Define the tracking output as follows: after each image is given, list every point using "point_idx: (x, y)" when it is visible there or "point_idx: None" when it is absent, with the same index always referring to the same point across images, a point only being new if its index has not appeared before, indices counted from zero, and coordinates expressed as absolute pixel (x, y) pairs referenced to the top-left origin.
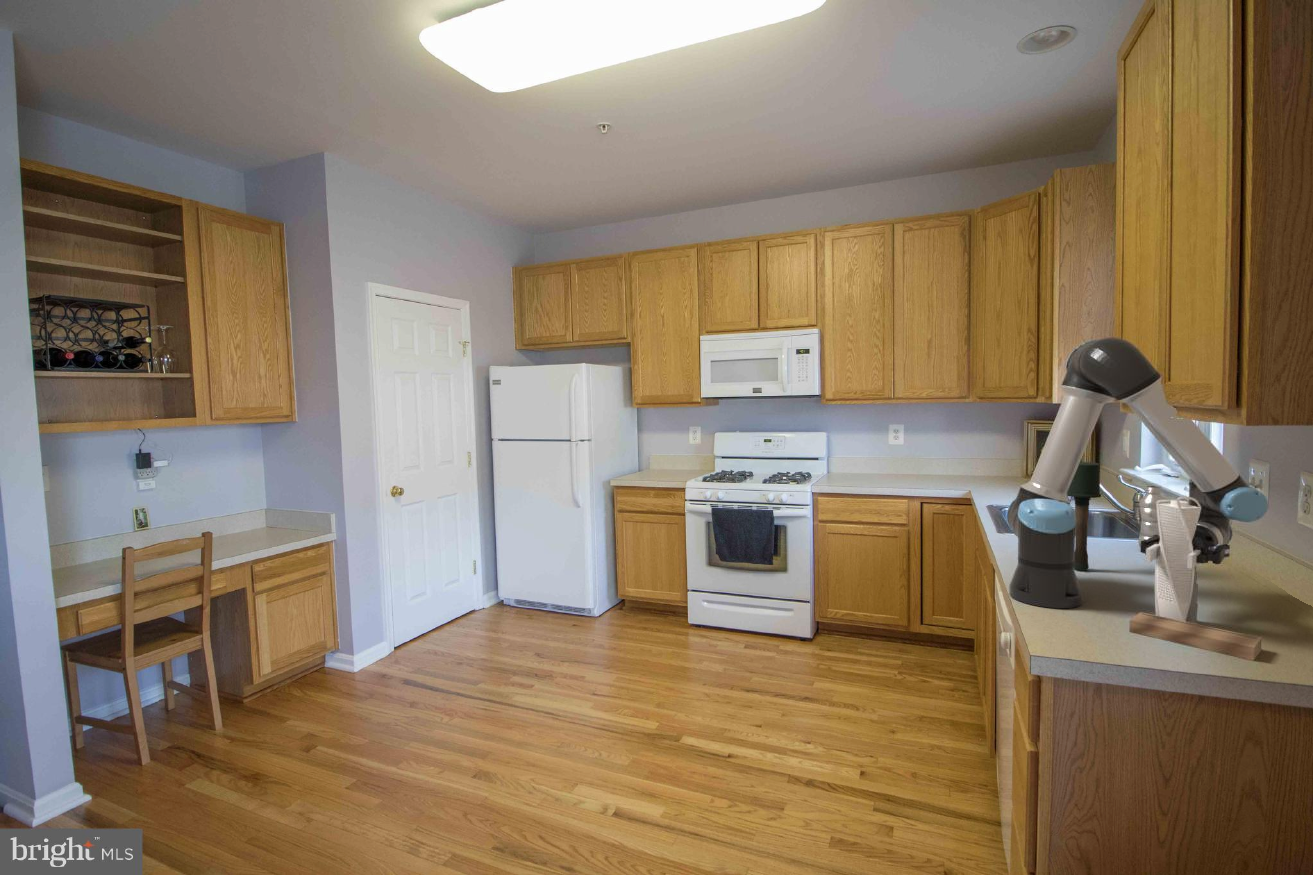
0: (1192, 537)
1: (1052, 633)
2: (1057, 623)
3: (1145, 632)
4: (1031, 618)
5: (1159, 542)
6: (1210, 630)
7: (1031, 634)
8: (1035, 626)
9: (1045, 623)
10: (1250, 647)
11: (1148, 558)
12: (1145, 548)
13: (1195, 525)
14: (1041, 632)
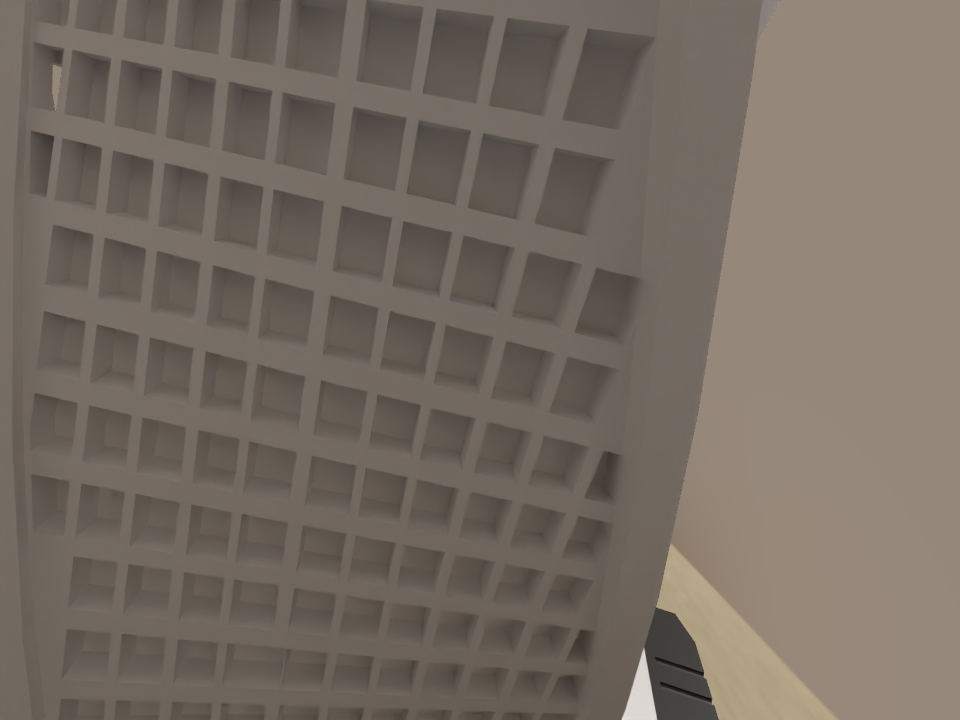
0: (6, 433)
1: (662, 586)
2: (713, 682)
3: None
4: (797, 697)
5: (608, 714)
6: None
7: (687, 562)
8: (726, 622)
9: (733, 663)
10: None
11: None
12: (674, 618)
13: (29, 43)
14: (683, 583)
